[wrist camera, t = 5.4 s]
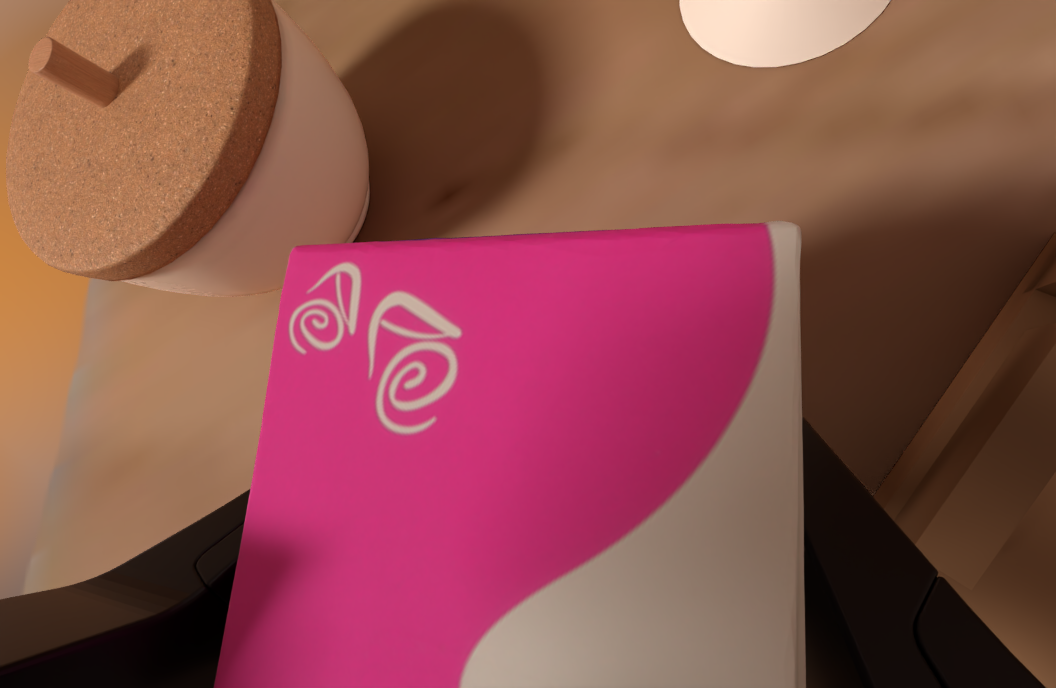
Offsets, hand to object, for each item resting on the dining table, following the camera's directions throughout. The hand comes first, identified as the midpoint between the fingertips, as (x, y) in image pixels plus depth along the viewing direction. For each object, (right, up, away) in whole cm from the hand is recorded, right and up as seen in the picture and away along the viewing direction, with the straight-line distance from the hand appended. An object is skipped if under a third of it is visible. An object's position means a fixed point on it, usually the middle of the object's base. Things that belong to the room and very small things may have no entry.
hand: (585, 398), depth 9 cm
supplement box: (+2, -2, +6) cm, 7 cm away
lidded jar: (-11, +7, +12) cm, 18 cm away
